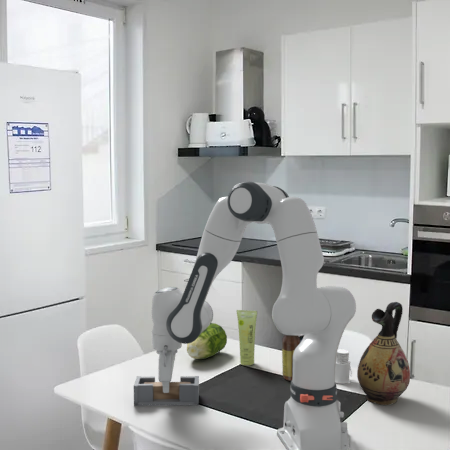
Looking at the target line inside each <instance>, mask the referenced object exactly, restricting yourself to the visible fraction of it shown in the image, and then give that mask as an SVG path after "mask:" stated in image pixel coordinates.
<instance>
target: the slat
mask: <svg viewBox="0 0 450 450" xmlns="http://www.w3.org/2000/svg"><path fill="white" fill-rule="evenodd" d="M144 384H153V399H179V384H191V382H180V381H171V382H169V392H168V393H164V392H163V385H162V382H159V381H155V382H144Z"/></svg>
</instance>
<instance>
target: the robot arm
mask: <svg viewBox="0 0 450 450" xmlns="http://www.w3.org/2000/svg"><path fill="white" fill-rule="evenodd" d="M211 210H212V211H211V212H210V214H209V216H208V219H207V221H206V224H205V226H204V228H203V229H204V230H203V232H202V236H201V240H200V243H199V247H198V250H197V254H196V257H195V261H194V265H193V268H192V270H191V273H190V275H189V278H188V281H187V284H186V287H184V288H185V289H184V291H182V290H181V289H180V288H179V287H177V286H168V287H164V288H160V289H158V290H157V291H155V292H154V294H153V295H152V301H151V320H152V324H153V325H152V328H151V347H152V349H153V350H156V351H155V352H156V354H158V369H157V370H158V382H162V385H163V392H164V393H168V392H169V382H172V379H173V371H174V367H175V366H174V365H175V361H176V356H177V355H176V354H177V353H178V350H179V349H181V348H182V347H183V346H182V344H184V345H185V344H186V345H187V344H188V343H192V342H193V341H195V340H196V339H197V338H198V336H199V335H200V334H201V333H202V332H203V331H204V330H205V329H206V328H207V327H208V326H209V325H210V324H211V323H213V320H214V311H213V308H212V306H211V305H210V304H209V302H208V301H206V300H207V297H208V294H209V293H210V289H211V286H212V284H213V282H214V281H215V279H216V278H217V277H218V276H219V274H220V273H221V272H222V271H223V270H224V269H225V268H226V267H227V266H228V265H229V264H230V263H231V262H232V260H233V259H234V257H235V256H236V254H237V252H238V250H239V247H240V244H241V242H242V239H243V237H244V236H243V235H244V233H245V230H246V228H247V227H248V226H249V225H250V224H251V223H254V224H259V225H260V224H268V225H270V226H271V228H272V230H273V233H274V237H275V241H276V246H277V250H278V254H279V259H280V263H281V270H282V271H281V272H282V280H281V281H282V282H281V289H280V293H279V295H278V297H277V299H276V301H275V302H274V304H273V306H272V309H271V310H272V311H271V316H272V317H271V318H272V322H273V324H274V326H275V327H276V329H277V331H279V333H280V334H283V335H294V336H299V337H300V336H301V337H302V336H303V338H302V339H301V340H300V344H299V345H298V346H297V347H296V349H295V351H294V353H293V379H292V381H290V386H289V390H290V398H288V400H286V401H285V403H284V408H283V409H284V410H283V427H279V428H278V429H276V430H277V431H276V436H277V437H278V438H279V439H280V441H281V443H282V444H283V445H284V447H285V449H286V450H350V439H349V430H348V422H346V421H341V418H344V417H345V413H344V411H341V402H340V401H339V400H338V389H337V388H338V387H337V383H335V367H336V355H337V350H338V349H339V345H340V342H341V340H342V337H343V334H344V332H345V331H346V327H347V326H348V325H349V323H350V322H351V320H352V319H353V318H354V316H355V314H356V312H357V311H356V310H357V303H356V300H355V296H354V295H353V293H352V292H351V291H350V290H349V289H347V288H345V287H343V286H342V287H341V286H336V285H333V286H332V285H327V286H322V287H321V286H320V287H318V286H317V284H318V282H317V281H318V280H317V279H318V274H319V271H320V270H321V269H322V267H323V266H324V262H325V257H324V254H323V250H322V246H321V242H320V238H319V234H318V229H317V227H316V224H315V220H314V218H313V216H312V213H311V211H310V208H309V206H308V205H307V203H306V201H305V200H304V199H302V198H301V197H296V196H289V195H288V193H287V192H286V191H285V190H284V189H282V188H280V187H278V186H275V185H270V184H268V183H264V182H258V181H257V182H255V181H243V182H240V183H237V184H235V185H234V186H233V187H232V188H231V189H230V191H229V193H228V195H227V196H223V197H220V198H219V199H218V200H217V201H216V203H215V205H214V206H213V208H212V209H211Z"/></svg>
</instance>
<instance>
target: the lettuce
mask: <svg viewBox="0 0 450 450" xmlns="http://www.w3.org/2000/svg"><path fill="white" fill-rule="evenodd" d="M227 342H228V337H227V333H226V331H225V329H224V328H223V327H222V325H220V324H218V323H216V322H215V323H214V322H211V324H210V325H209V326H208V327H207V328H206V329H205V330H204V331H203V332H202V333H201V334H200V335H199V336H198V338H197V339H196V340H195V341H193V342H192V343H188V344H186V345H187V346H186V353H187V354H188V356H190V357H191V358H192V359H196V360H205V359H208V358H210V357H213V356H215V355H217V354H218V353H219V352H221V351H222V350H224V348H225V347H226V345H227Z"/></svg>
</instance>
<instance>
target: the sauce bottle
mask: <svg viewBox="0 0 450 450" xmlns="http://www.w3.org/2000/svg"><path fill="white" fill-rule="evenodd" d="M300 343H301V338H300V336H294V335H285V334H283V337H282V338H281V345H282V347H281V357H282V358H281V359H282V363H281V364H282V377H283V379H284V380H286V381H290V382H291V381H292V379H293V353H294V351H295V349H296V347H297V346H298V345H299V344H300Z"/></svg>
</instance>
